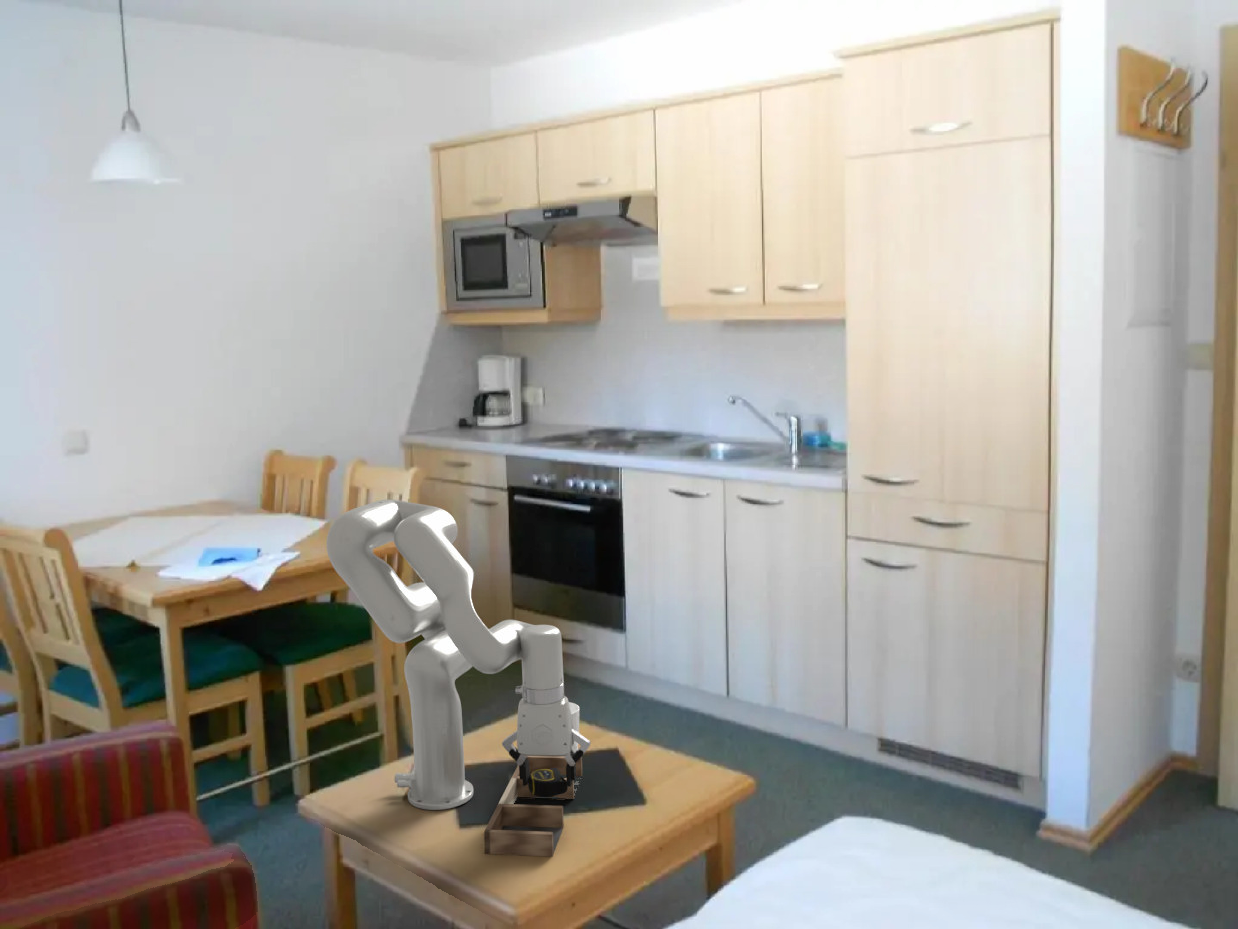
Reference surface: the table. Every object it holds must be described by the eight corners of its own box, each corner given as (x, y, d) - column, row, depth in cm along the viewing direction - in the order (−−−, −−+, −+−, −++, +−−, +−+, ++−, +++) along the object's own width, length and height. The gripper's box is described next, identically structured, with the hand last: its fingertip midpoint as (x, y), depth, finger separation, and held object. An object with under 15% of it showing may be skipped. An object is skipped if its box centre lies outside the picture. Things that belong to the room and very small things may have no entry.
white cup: (539, 749, 243) (537, 704, 241) (575, 744, 245) (573, 699, 244) (548, 763, 235) (546, 717, 234) (585, 758, 238) (583, 712, 236)
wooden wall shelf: (484, 853, 198) (483, 832, 198) (523, 773, 231) (523, 755, 230) (552, 856, 197) (551, 834, 196) (582, 775, 229) (581, 756, 229)
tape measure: (569, 798, 211) (568, 779, 211) (532, 803, 209) (532, 784, 209) (560, 783, 218) (559, 764, 217) (525, 788, 216) (524, 769, 215)
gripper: (492, 699, 207) (497, 791, 210) (587, 700, 205) (591, 792, 208) (502, 685, 215) (506, 774, 217) (593, 686, 213) (597, 775, 215)
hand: (548, 782), depth 213 cm, fingers closed on tape measure, 7 cm apart
